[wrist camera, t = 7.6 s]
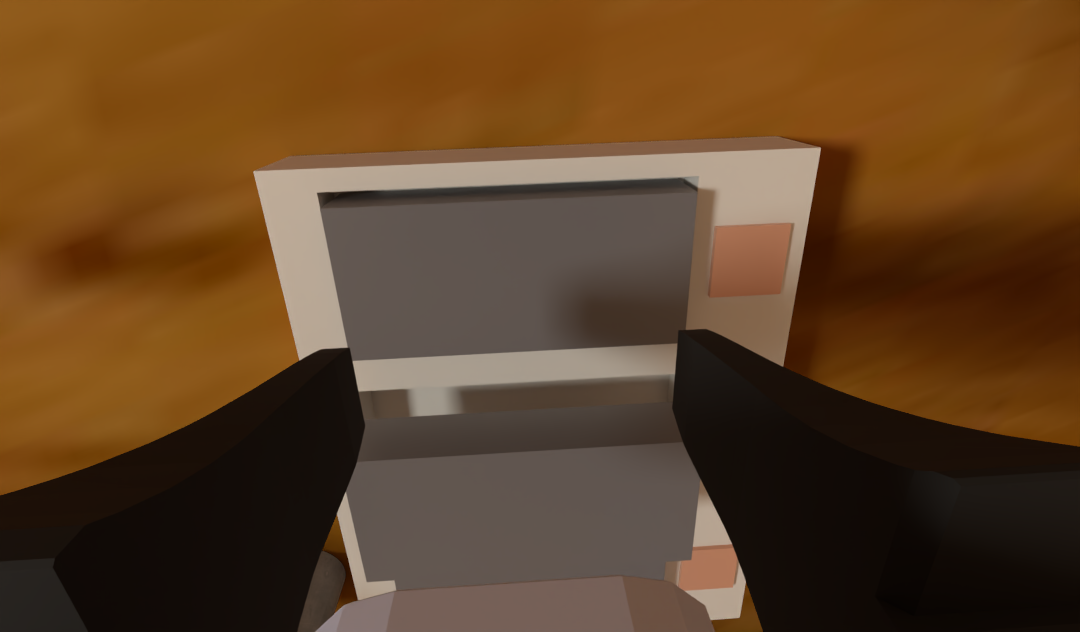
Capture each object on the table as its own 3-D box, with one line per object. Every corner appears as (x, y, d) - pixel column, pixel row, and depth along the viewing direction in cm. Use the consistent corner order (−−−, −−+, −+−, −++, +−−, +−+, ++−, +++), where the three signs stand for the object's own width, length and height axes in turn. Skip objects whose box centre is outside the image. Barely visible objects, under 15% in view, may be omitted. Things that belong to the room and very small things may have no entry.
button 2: (676, 178, 18) (697, 192, 16) (667, 315, 20) (684, 343, 18) (341, 192, 18) (319, 208, 16) (366, 331, 20) (350, 361, 18)
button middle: (683, 400, 19) (704, 440, 17) (673, 512, 21) (691, 560, 19) (357, 419, 18) (338, 463, 16) (380, 531, 20) (366, 582, 18)
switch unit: (777, 136, 19) (824, 148, 17) (717, 564, 28) (741, 621, 25) (290, 155, 19) (250, 172, 16) (382, 587, 28) (367, 648, 25)
